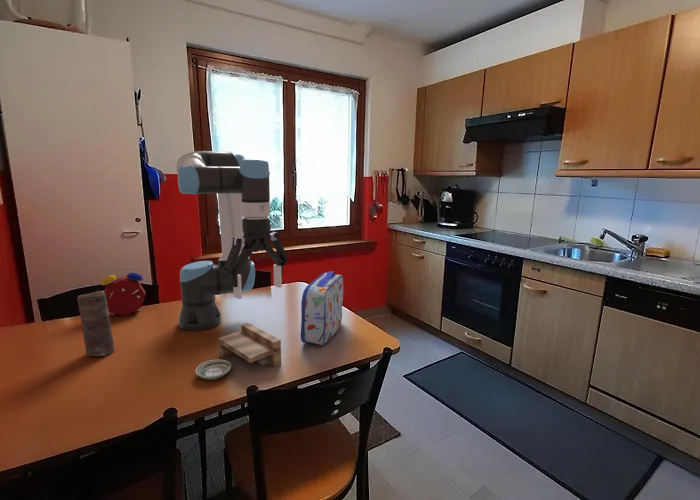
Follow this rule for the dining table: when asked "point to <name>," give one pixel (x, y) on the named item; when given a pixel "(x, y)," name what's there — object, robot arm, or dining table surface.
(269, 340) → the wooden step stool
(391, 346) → the dining table surface
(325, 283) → the lunch box
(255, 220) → the robot arm
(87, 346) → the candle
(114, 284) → the alarm clock
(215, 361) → the saucer
